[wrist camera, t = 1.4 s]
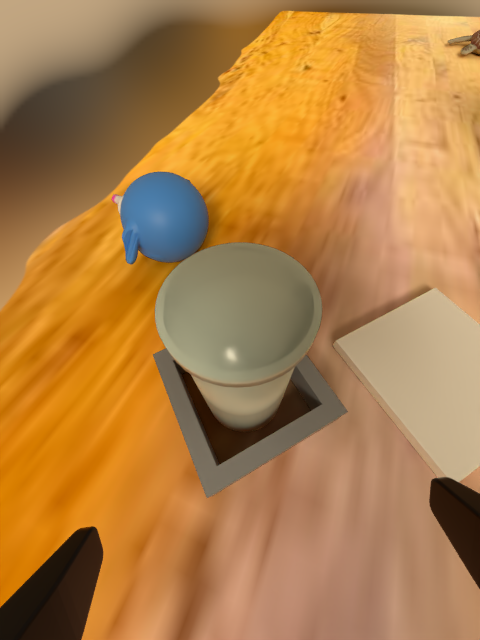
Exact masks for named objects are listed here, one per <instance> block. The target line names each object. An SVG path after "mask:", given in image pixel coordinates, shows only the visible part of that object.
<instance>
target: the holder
mask: <svg viewBox="0 0 480 640" xmlns="http://www.w3.org/2000/svg"><path fill="white" fill-rule="evenodd" d="M153 357H154V359H155V362H156V364H157V367H158V370H159V372H160V375H161V378H162V380H163V383H164V386H165V388H166V391H167V394H168V396H169V399H170V402H171V404H172V407H173V410H174V412H175V415H176V418H177V420H178V423H179V425H180V428H181V431H182V433H183V436H184V439H185V441H186V444H187V447H188V449H189V452H190V455H191V457H192V460H193V463H194V465H195V468H196V471H197V473H198V476H199V479H200V481H201V484H202V487H203V489H204V492H205V494H206V497H207V498H208V497H211V496H213V495H215V494H216V493H218V492H220V491H221V490H223V489H225V488H226V487H228V486H230V485H231V484H233V483H234V482H236V481H238V480H239V479H241V478H243V477H244V476H246V475H247V474H249V473H251V472H252V471H254V470H256V469H257V468H259V467H260V466H262V465H264V464H265V463H267V462H269V461H270V460H272V459H273V458H275V457H277V456H278V455H280V454H282V453H283V452H285V451H286V450H288V449H290V448H291V447H293V446H295V445H296V444H298V443H299V442H301V441H303V440H304V439H306V438H308V437H309V436H311V435H312V434H314V433H316V432H317V431H319V430H321V429H322V428H324V427H325V426H327V425H329V424H330V423H332V422H334V421H335V420H337V419H338V418H339V417H341V416H342V415H344V414H345V413H347V412H348V411H347V410H346V408H345V407H344V406H343V404H342V403H341V402H340V400H339V399H338V397H337V396H336V395H335V393H334V392H333V390H332V389H331V388H330V386H329V385H328V384H327V382H326V381H325V379H324V378H323V377H322V375H321V374H320V373H319V371H318V370H317V368H316V367H315V366H314V364H313V363H312V361H311V360H310V359H309V357H308V356H307V355H305V357H304V358H303V359H302V360H301V361H300V363H298V364H297V365H296V366H295V368H294V370H293V373H292V375H291V378H290V379H291V380H292V382H293V383H294V385H295V387H296V388H297V390H298V391H299V393H300V394H301V396H302V397H303V399H304V400H305V402H306V403H307V405H308V406H309V408H310V409H311V411H310V412H308V413H306V414H305V415H303V416H301V417H300V418H298V419H296V420H295V421H293V422H291V423H289V424H288V425H286V426H284V427H283V428H281V429H279V430H278V431H276V432H274V433H273V434H271V435H269V436H267V437H266V438H264V439H262V440H261V441H259V442H257V443H256V444H254V445H252V446H250V447H249V448H247V449H245V450H244V451H242V452H240V453H239V454H237V455H235V456H234V457H232V458H230V459H228V460H227V461H225V462H223V463H222V464H219V462H218V460H217V457H216V455H215V452H214V450H213V448H212V445H211V443H210V441H209V438H208V436H207V434H206V431H205V429H204V426H203V424H202V422H201V419H200V417H199V415H198V412H197V410H196V408H195V405H194V403H193V400H192V398H191V396H190V393H189V391H188V389H187V386H186V384H185V381H184V379H183V377H182V373H184V372H187V371H185V370H184V369H183V368H182V367H181V366H180V365H179V364H178V363H177V362H176V361H175V360H174V358H173V357H172V356H171V355H170V353H169V351H168V350H167V348H166V349H164V350H162V351H159V352H157V353H155V354H153Z"/></svg>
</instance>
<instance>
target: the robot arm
mask: <svg viewBox="0 0 480 640" xmlns="http://www.w3.org/2000/svg"><path fill="white" fill-rule="evenodd" d="M429 503H430V507H431V510H432V512H433V514H434V516H435V517H436V519H437V521H438V522H439V524H440V526H441V527H442V529H443V530H444V532H445V534H446V535H447V537H448V539H449V540H450V542H451V544H452V545H453V547H454V549H455V550H456V552H457V553H458V555H459V557H460V558H461V560H462V562H463V563H464V565H465V567H466V568H467V570H468V571H469V573H470V575H471V576H472V578H473V579H474V581H475V582H476V584H477V585H478V587H479V588H480V494H479V493H478V492H476V491H474V490H472V489H470V488H468V487H467V486H465V485H463V484H461V483H459V482H457V481H455V480H454V479H452V478H449V477H440V478H434V479H432V481H431V487H430V499H429ZM102 560H103V547H102V544H101V541H100V537H99V534H98V531H97V528H95V527H93V526H92V527H85V528H80V529H78V530H77V531H75V532H74V533H73V534H72V535H71V536H70V537H69V538H68V539H67V540H66V541H65V542H64V543H63V544H62V545H61V546H60V547H59V549H58V550H57V551H56V552H55V553H54V554H53V555H52V556H51V557H50V558H49V559H48V560H47V561H46V562H45V563H44V564H43V565H42V566H41V567H40V568H39V569H38V570H37V571H36V572H35V573H34V574H33V575H32V576H31V577H30V578H29V579H28V580H27V581H26V582H25V583H24V584H23V585H22V586H21V587H20V588H19V589H18V590H17V591H16V592H15V593H14V594H13V595H12V596H11V597H10V598H9V599H8V600H7V601H6V602H5V603H4V604H3V605H2V606H1V607H0V640H81V639H82V636H83V632H84V629H85V625H86V621H87V617H88V613H89V610H90V606H91V602H92V598H93V595H94V591H95V587H96V583H97V579H98V576H99V572H100V568H101V564H102Z"/></svg>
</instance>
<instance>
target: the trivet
mask: <svg viewBox="0 0 480 640" xmlns="http://www.w3.org/2000/svg"><path fill="white" fill-rule="evenodd" d="M333 347H334V348H335V349H336V351H337V352H338V353H339V355H340V356H341V357H342V358H343V360H344V361H345V362H346V363H347V365H348V366H349V367H350V368H351V370H352V371H353V372H354V373H355V375H356V376H357V377H358V378H359V380H360V381H361V382H362V383H363V385H364V386H365V387H366V388H367V390H368V391H369V392H370V393H371V395H372V396H373V397H374V398H375V400H376V401H377V402H378V403H379V405H380V406H381V407H382V408H383V410H384V411H385V412H386V413H387V415H388V416H389V417H390V418H391V420H392V421H393V422H394V423H395V425H396V426H397V427H398V428H399V430H400V431H401V432H402V433H403V435H404V436H405V437H406V438H407V440H408V441H409V442H410V443H411V445H412V446H413V447H414V448H415V450H416V451H417V452H418V453H419V455H420V456H421V457H422V458H423V460H424V461H425V462H426V463H427V465H428V466H429V467H430V468H431V470H432V471H433V472H434V473H435V475H436V476H437V477H438V478H440V477H449V478H452V479H454V480H455V481H457V482H460V481H461V480H463V479H464V478H465V477H466V476H468V475H469V474H470V473H471V472H473V471H474V470H475V469H477V468H478V467H479V466H480V324H478V323H477V322H476V321H475V320H474V319H472V318H471V317H470V316H469V315H468V314H467V313H465V312H464V311H463V310H462V309H461V308H459V307H458V306H457V305H456V304H455V303H453V302H452V301H451V300H450V299H449V298H447V297H446V296H445V295H444V294H443V293H441V292H440V291H439V290H438V289H437V288H434V289H432V290H430V291H428V292H426V293H424V294H422V295H420V296H418V297H417V298H415V299H413V300H411V301H409V302H407V303H405V304H403V305H402V306H400V307H398V308H396V309H394V310H392V311H390V312H388V313H387V314H385V315H383V316H381V317H379V318H377V319H375V320H373V321H371V322H370V323H368V324H366V325H364V326H362V327H360V328H358V329H356V330H355V331H353V332H351V333H349V334H347V335H345V336H343V337H341V338H339V339H338V340H336V341H335V342H334V344H333Z"/></svg>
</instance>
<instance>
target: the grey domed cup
mask: <svg viewBox="0 0 480 640" xmlns="http://www.w3.org/2000/svg"><path fill="white" fill-rule="evenodd" d="M321 318H322V301H321V296H320V293H319V290H318V287H317V285H316V283H315V281H314V279H313V278H312V276H311V275H310V274H309V272H308V271H307V270H306V269H305V268H304V267H303V266H302V265H301V264H300V263H299V262H298V261H296V260H295V259H294V258H292V257H291V256H289V255H287V254H286V253H284V252H282V251H279V250H277V249H275V248H272V247H268V246H265V245H260V244H254V243H227V244H221V245H217V246H213V247H210V248H207V249H204V250H202V251H199V252H197V253H195V254H193V255H192V256H190V257H188V258H187V259H185V260H184V261H183V262H181V263H180V264H179V265H178V266H177V267H176V268H175V269H174V270H173V271H172V272H171V273H170V274H169V275H168V277H167V278H166V280H165V281H164V283H163V284H162V287H161V289H160V291H159V293H158V297H157V300H156V306H155V321H156V326H157V330H158V333H159V335H160V338H161V340H162V341H163V343H164V345H165V347H166V348H167V350H168V351H169V353H170V355H171V356H172V357H173V358H174V360H175V361H176V362H177V363H178V364H179V365H180V366H181V367H182V368H183V369H184V370H185V371H187V372H188V373H190V374H191V376H192V378H193V380H194V381H195V383H196V385H197V387H198V389H199V390H200V392H201V394H202V396H203V397H204V399H205V401H206V403H207V405H208V406H209V408H210V410H211V412H212V414H213V415H214V417H215V418H216V419H217V420H218V421H219V422H220V423H221V424H222V425H223V426H225V427H226V428H228V429H231V430H233V431H237V432H251V431H255V430H258V429H260V428H262V427H264V426H265V425H267V424H268V423H269V422H270V421H271V420H272V419H273V418H274V416H275V415H276V413H277V411H278V408H279V406H280V403H281V401H282V398H283V396H284V393H285V391H286V388H287V386H288V383H289V380H290V378H291V375H292V373H293V370H294V368H295V366H296V365H297V364H298V363H300V361H301V360H302V359H303V358H304V357H305V355H306V354H307V352H308V351H309V349H310V347H311V346H312V343H313V341H314V339H315V337H316V335H317V332H318V330H319V327H320V323H321Z"/></svg>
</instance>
